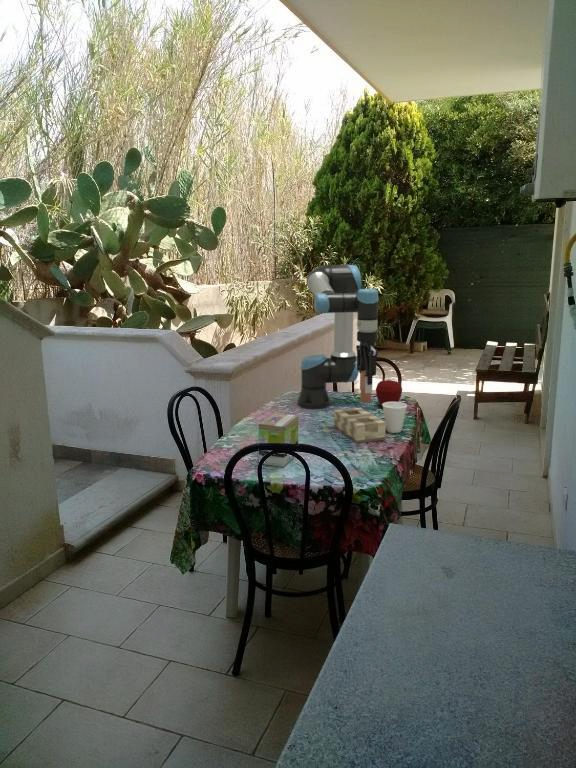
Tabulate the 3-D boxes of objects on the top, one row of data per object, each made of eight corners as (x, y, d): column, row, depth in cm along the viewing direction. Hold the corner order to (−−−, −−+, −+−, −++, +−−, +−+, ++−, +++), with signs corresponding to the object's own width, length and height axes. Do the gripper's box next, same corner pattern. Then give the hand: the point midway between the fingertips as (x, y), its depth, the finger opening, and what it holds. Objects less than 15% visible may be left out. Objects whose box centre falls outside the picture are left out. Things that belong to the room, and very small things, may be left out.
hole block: (333, 426, 243) (333, 410, 242) (359, 423, 247) (360, 407, 245) (357, 443, 223) (357, 425, 221) (385, 439, 227) (385, 422, 225)
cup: (378, 433, 234) (379, 406, 232) (384, 426, 243) (385, 400, 241) (403, 436, 231) (404, 409, 228) (408, 428, 240) (409, 402, 237)
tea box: (285, 467, 199) (285, 426, 196) (258, 464, 202) (257, 423, 199) (299, 453, 213) (298, 414, 210) (273, 450, 216) (272, 411, 213)
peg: (358, 400, 228) (359, 370, 225) (367, 399, 229) (368, 369, 226) (363, 403, 224) (363, 372, 221) (372, 402, 225) (373, 371, 222)
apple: (374, 409, 268) (375, 381, 265) (376, 402, 279) (377, 375, 276) (401, 411, 265) (402, 382, 262) (402, 404, 276) (403, 376, 273)
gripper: (348, 328, 227) (347, 387, 232) (368, 334, 211) (367, 397, 217) (365, 327, 229) (364, 385, 234) (386, 333, 214) (385, 395, 219)
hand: (365, 391), depth 226 cm, fingers closed on peg, 4 cm apart
